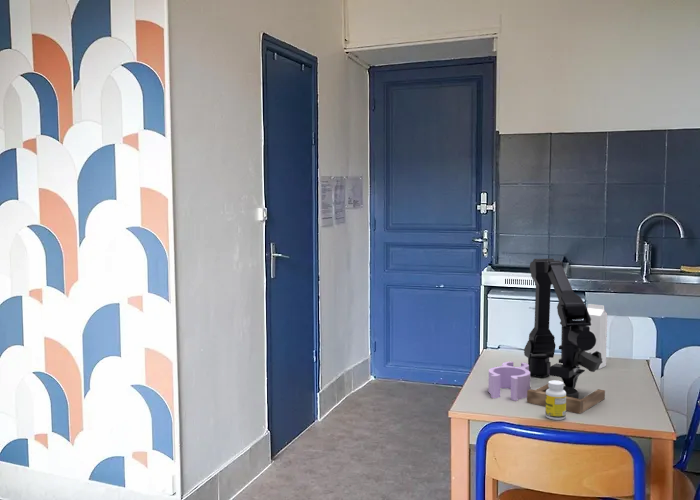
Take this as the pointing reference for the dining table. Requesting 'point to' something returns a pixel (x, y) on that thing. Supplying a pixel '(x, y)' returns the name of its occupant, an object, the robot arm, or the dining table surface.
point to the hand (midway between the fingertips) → (570, 393)
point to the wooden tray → (567, 399)
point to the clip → (509, 380)
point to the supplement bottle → (555, 400)
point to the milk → (598, 330)
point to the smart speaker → (571, 392)
